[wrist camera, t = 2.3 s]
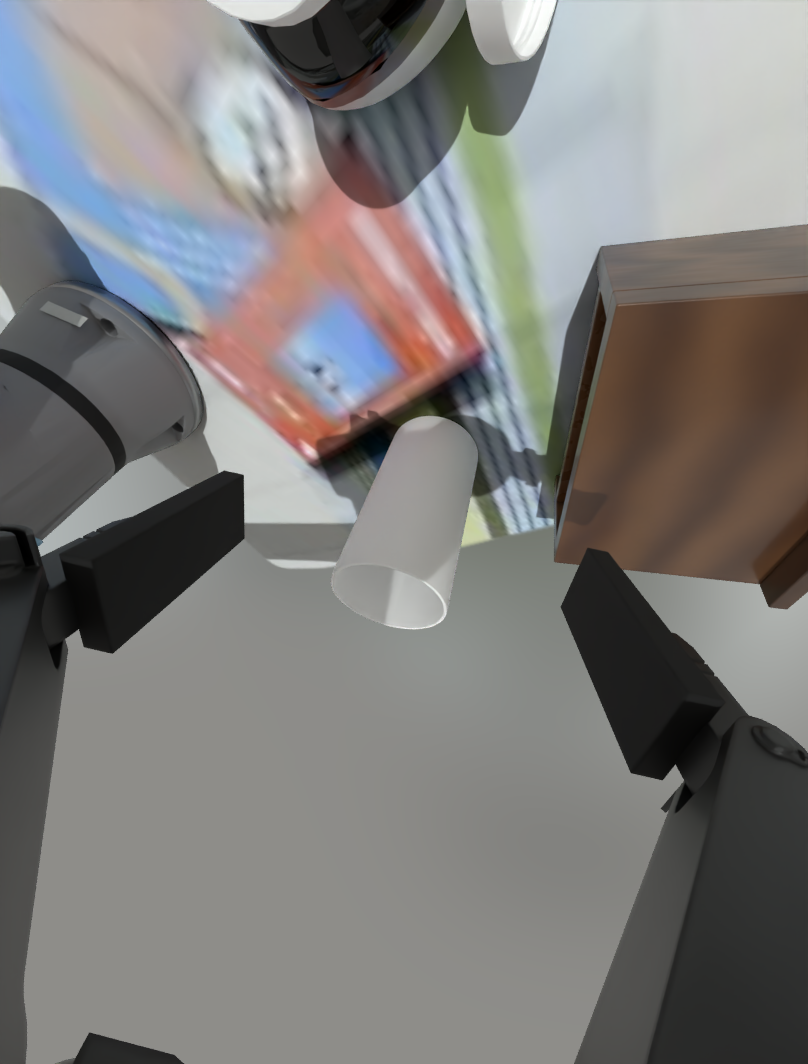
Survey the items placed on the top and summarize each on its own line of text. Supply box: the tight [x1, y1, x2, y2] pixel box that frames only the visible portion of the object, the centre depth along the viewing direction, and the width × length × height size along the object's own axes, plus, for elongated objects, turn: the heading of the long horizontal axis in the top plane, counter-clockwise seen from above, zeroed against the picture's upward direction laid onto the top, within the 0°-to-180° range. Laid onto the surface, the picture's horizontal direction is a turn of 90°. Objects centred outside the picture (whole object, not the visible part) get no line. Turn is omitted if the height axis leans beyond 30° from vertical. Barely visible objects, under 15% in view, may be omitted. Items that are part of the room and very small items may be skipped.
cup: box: [331, 416, 478, 629], centre depth 30 cm, size 8×8×16 cm
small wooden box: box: [554, 224, 808, 609], centre depth 23 cm, size 14×18×11 cm
